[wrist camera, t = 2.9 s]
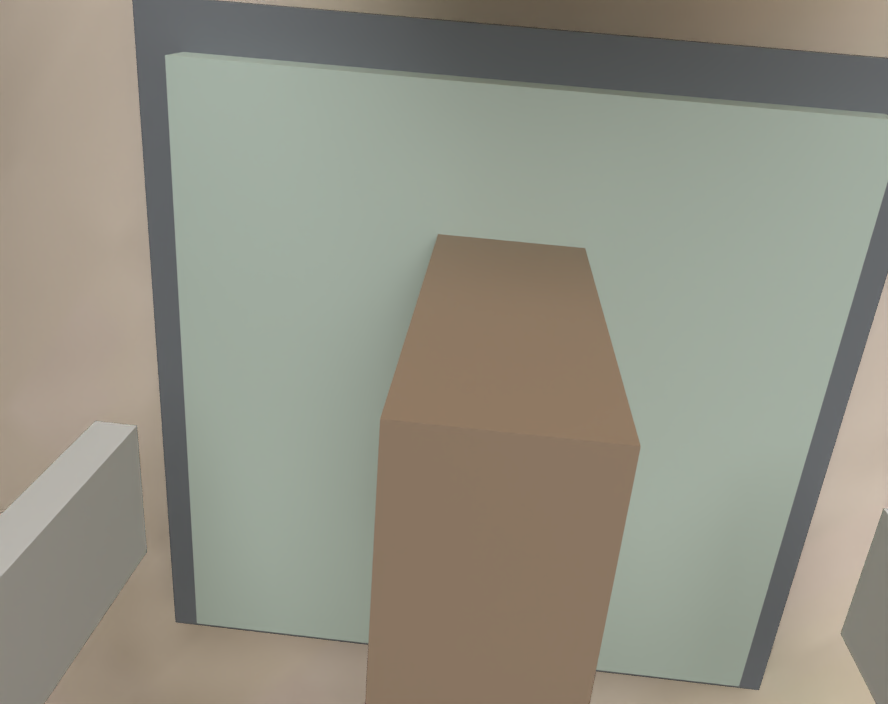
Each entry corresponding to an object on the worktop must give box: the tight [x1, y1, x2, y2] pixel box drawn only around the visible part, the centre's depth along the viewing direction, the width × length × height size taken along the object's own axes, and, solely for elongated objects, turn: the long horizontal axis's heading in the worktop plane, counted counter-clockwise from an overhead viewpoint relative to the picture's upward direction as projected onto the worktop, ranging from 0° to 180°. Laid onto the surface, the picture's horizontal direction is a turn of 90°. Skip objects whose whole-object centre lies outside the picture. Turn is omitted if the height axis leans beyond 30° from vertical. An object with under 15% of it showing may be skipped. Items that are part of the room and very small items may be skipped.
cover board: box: [165, 52, 888, 704], centre depth 15 cm, size 14×14×9 cm
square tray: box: [132, 0, 888, 690], centre depth 20 cm, size 16×16×1 cm
